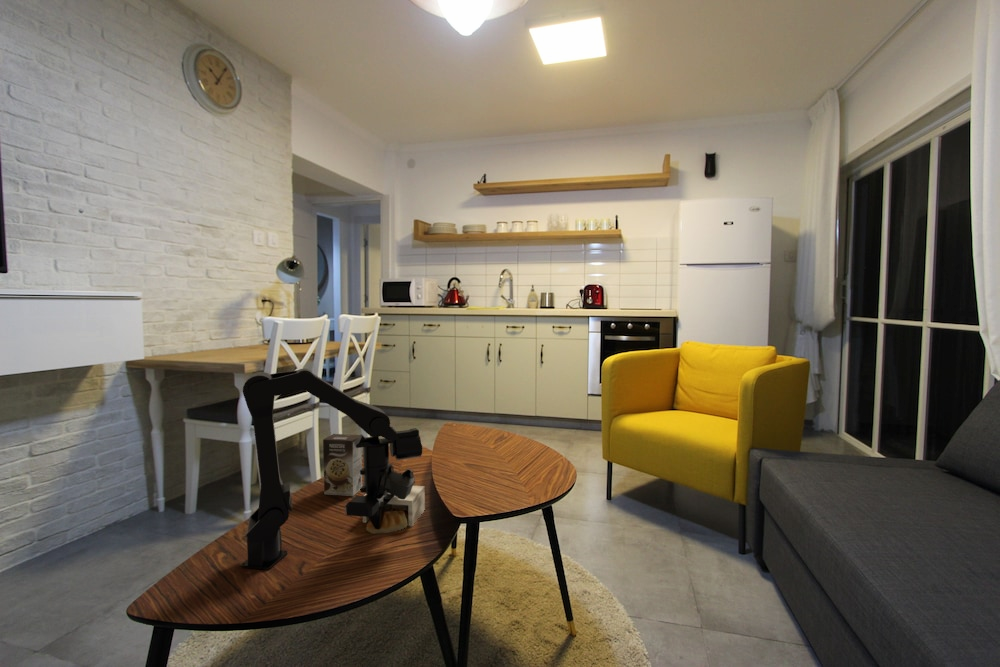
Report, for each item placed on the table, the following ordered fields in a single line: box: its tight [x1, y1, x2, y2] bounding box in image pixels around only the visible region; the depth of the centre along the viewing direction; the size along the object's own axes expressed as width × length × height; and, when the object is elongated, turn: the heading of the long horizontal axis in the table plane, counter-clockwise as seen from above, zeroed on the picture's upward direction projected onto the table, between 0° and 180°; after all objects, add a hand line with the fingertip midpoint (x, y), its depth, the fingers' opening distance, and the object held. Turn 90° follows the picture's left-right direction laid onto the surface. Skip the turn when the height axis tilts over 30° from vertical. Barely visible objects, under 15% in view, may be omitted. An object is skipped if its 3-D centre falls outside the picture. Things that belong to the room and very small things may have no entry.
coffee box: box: [322, 433, 363, 497], centre depth 130 cm, size 9×6×16 cm
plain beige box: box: [362, 485, 426, 527], centre depth 114 cm, size 9×13×6 cm
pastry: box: [365, 509, 409, 535], centre depth 109 cm, size 9×7×4 cm
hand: (378, 528), depth 105 cm, fingers closed
